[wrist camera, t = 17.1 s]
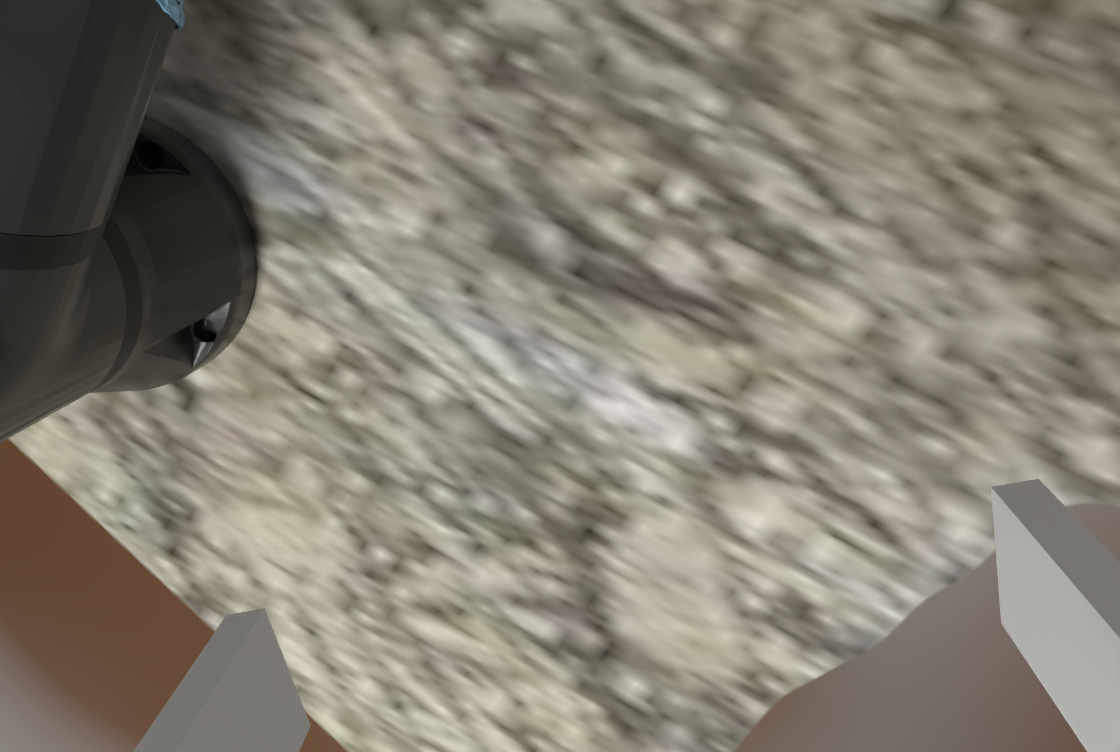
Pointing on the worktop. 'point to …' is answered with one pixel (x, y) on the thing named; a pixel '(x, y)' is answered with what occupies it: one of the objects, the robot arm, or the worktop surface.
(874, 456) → the worktop surface
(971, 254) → the worktop surface
